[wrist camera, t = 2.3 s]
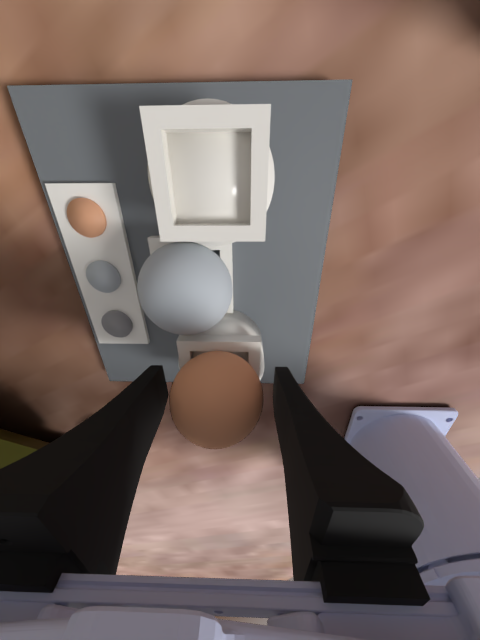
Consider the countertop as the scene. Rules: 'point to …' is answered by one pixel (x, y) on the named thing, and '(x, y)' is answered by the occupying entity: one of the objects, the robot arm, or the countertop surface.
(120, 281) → the slate board
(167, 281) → the grey ball
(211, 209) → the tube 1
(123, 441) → the robot arm
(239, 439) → the terracotta ball
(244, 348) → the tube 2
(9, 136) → the countertop surface
